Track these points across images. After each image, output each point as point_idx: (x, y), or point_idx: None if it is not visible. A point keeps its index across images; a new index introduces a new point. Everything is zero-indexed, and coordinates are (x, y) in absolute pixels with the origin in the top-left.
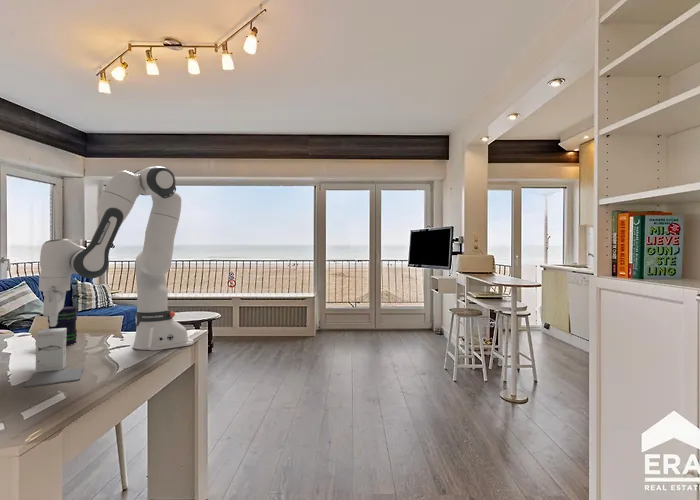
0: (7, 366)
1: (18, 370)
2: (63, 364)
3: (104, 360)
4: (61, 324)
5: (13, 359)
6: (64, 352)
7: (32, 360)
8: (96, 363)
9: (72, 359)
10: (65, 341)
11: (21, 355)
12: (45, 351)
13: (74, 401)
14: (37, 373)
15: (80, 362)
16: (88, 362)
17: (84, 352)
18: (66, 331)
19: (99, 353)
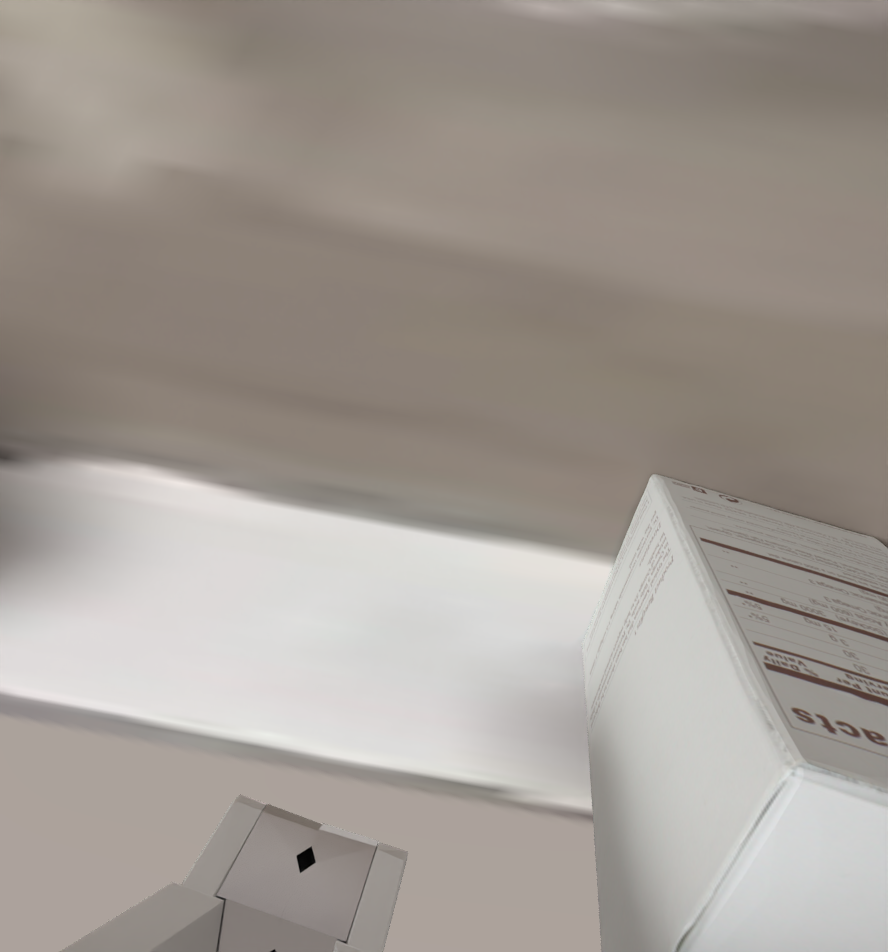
0: (359, 771)
1: (557, 756)
2: (864, 546)
3: (791, 71)
4: None
5: (141, 704)
6: (852, 585)
7: (257, 627)
8: (876, 195)
9: (443, 374)
10: (843, 642)
11: (26, 644)
12: None
13: None
14: None
15: (657, 336)
16: (733, 265)
17: (165, 206)
18: (786, 713)
19: (320, 56)
